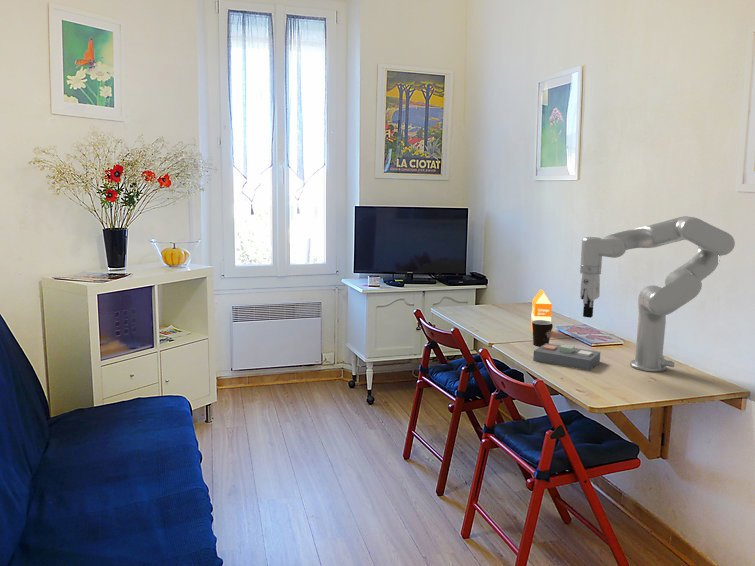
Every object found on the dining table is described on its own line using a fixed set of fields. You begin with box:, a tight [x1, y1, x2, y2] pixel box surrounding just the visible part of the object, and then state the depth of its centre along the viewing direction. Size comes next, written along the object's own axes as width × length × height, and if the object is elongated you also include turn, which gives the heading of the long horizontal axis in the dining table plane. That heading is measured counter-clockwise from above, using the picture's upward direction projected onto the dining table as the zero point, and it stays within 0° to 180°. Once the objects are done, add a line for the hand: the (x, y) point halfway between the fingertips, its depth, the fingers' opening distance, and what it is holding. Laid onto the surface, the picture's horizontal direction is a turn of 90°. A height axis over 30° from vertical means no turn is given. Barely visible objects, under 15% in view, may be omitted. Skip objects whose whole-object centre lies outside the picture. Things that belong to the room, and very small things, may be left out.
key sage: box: [560, 344, 576, 354], centre depth 241 cm, size 4×4×3 cm
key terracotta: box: [542, 345, 557, 351], centre depth 246 cm, size 4×4×3 cm
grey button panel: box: [532, 343, 601, 371], centre depth 242 cm, size 22×14×4 cm, turn 55°
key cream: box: [578, 350, 592, 357], centre depth 238 cm, size 4×4×3 cm
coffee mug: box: [531, 320, 554, 347], centre depth 266 cm, size 12×9×10 cm
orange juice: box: [530, 288, 553, 333], centre depth 286 cm, size 8×9×20 cm
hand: (587, 316), depth 235 cm, fingers closed
